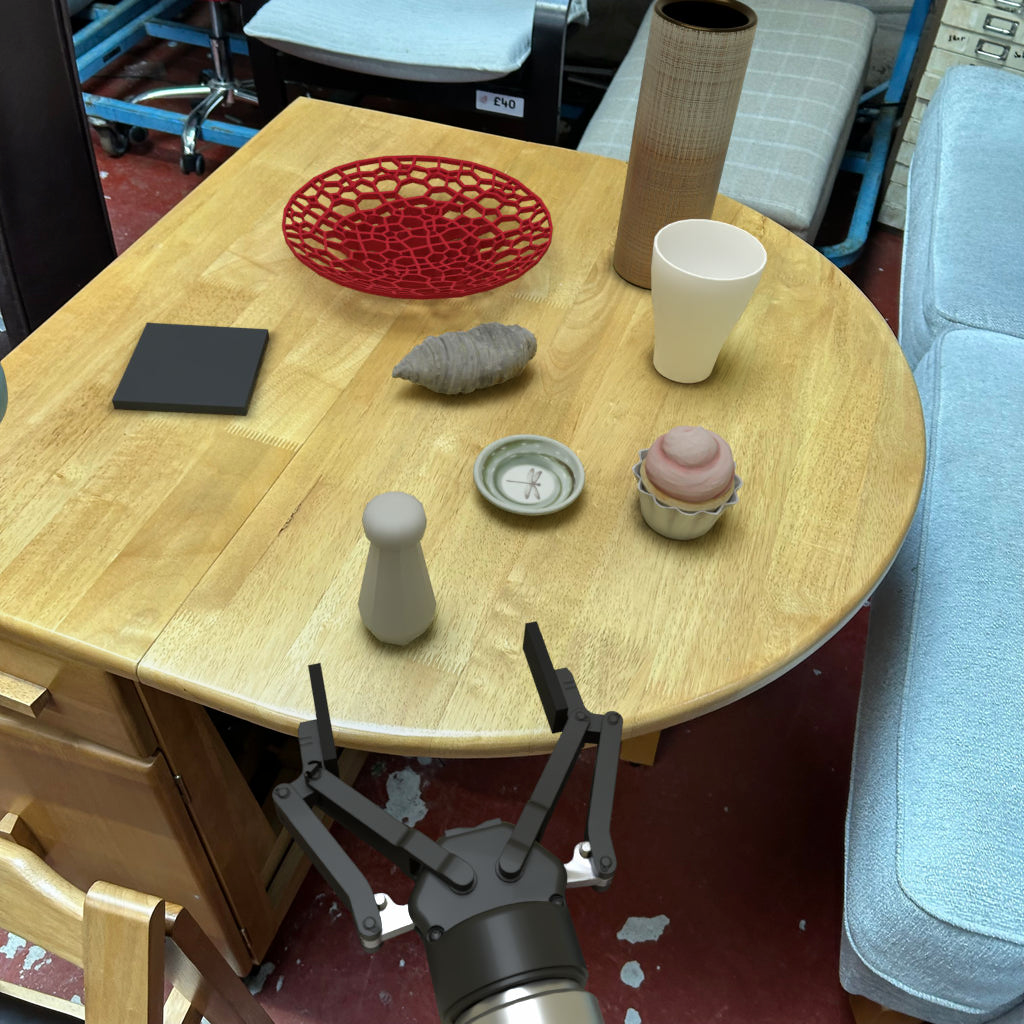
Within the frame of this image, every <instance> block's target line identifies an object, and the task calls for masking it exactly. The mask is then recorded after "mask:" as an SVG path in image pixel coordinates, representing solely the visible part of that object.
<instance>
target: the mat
mask: <svg viewBox="0 0 1024 1024" xmlns="http://www.w3.org/2000/svg"><path fill="white" fill-rule="evenodd" d="M269 340H270V332H269V329H268V328H256V327H255V328H253V327H235V326H234V327H233V326H220V325H219V326H217V325H200V324H199V325H198V324H180V323H179V324H178V323H161V322H146V323H145V326H144V328H143V330H142V332H141V335H140V337H139V339H138V342H137V343H136V346H135V348H134V350H133V353H132V355H131V356H130V359H129V361H128V364H127V365H126V368H125V370H124V372H123V375H122V376H121V379H120V381H119V383H118V386H117V388H116V390H115V392H114V394H113V397H112V399H111V402H112V405H113V408H114V409H116V410H117V409H118V410H136V411H137V410H138V411H158V412H175V413H194V414H195V413H196V414H215V415H217V414H219V415H237V416H247V413H248V411H249V408H250V407H249V406H250V404H251V400H252V397H253V393H254V391H255V390H254V389H255V386H256V383H257V379H258V377H259V373H260V370H261V367H262V363H263V359H264V355H265V352H266V348H267V347H268V344H269V343H268V342H269Z"/></svg>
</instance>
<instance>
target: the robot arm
mask: <svg viewBox="0 0 1024 1024" xmlns="http://www.w3.org/2000/svg"><path fill="white" fill-rule="evenodd" d="M3 367H4V366H2V363H1V362H0V425H1V424H2V422H3V420H4V418H5V417H6V413H7V410H8V405H9V390H8V382H7V377H6V374H5V370H4V368H3ZM523 632H524V633H523V642H522V651H523V654H524V657H525V659H526V662H527V665H528V669H529V671H530V674H531V677H532V680H533V682H534V685H535V688H536V692H537V694H538V697H539V700H540V703H541V706H542V709H543V711H544V715H545V717H546V720H547V723H548V726H549V729H550V732H551V735H555V734H559V733H560V736H559V737H558V740H557V741H556V744H555V746H554V748H553V750H552V752H551V754H550V756H549V758H548V760H547V762H546V764H545V767H544V768H543V771H542V772H541V775H540V777H539V779H538V781H537V783H536V786H535V788H534V790H533V792H532V794H531V795H530V798H529V800H527V802H526V803H525V805H524V807H523V810H522V812H521V814H520V816H519V817H518V820H517V822H516V824H514V823H512V822H509V821H505V820H504V821H503V820H502V818H501V817H496V818H492V819H488V820H485V821H484V822H482V823H480V824H478V825H476V826H474V827H454V828H450V829H447V830H444V834H443V835H441V836H440V837H439V838H438V839H436V840H435V841H434V840H433V839H431V838H430V837H429V836H428V835H426V834H425V833H423V832H421V831H420V830H418V829H417V828H414V827H412V828H411V827H409V826H407V825H406V824H404V823H403V822H402V821H400V820H398V819H397V818H396V817H394V816H393V815H392V814H390V813H389V812H387V811H386V810H385V809H384V808H382V807H380V806H379V805H377V804H376V803H375V802H373V801H372V800H370V799H369V798H367V797H366V796H365V795H363V794H362V793H360V792H359V791H357V790H356V789H355V788H353V787H352V786H351V785H349V784H347V783H346V782H345V781H343V780H342V779H341V776H340V769H339V762H338V757H337V755H338V754H337V751H336V744H335V739H334V738H335V737H334V733H333V727H332V723H331V722H332V721H331V716H330V709H329V704H328V698H327V692H326V686H325V681H324V680H325V679H324V675H323V668H322V663H321V662H318V663H312V664H308V665H307V668H308V674H309V679H310V687H311V693H312V700H313V704H314V712H315V718H316V719H310V720H306V721H301V722H299V725H298V728H297V737H298V743H299V749H300V756H301V764H302V772H301V774H300V775H299V776H298V777H297V778H296V779H295V780H292V781H291V782H289V783H288V782H284V783H280V784H278V785H276V786H275V787H274V788H273V791H272V794H271V796H272V797H271V798H272V800H273V805H274V808H275V812H276V816H277V819H278V820H279V822H280V823H281V825H282V826H283V827H284V828H285V830H286V831H287V832H288V833H289V835H290V836H291V837H292V839H293V840H294V841H295V843H296V844H297V845H298V847H299V848H300V849H301V851H302V852H303V853H304V854H305V856H306V857H307V858H308V860H309V861H310V862H311V864H312V865H313V867H315V869H316V870H317V871H318V873H319V874H320V875H321V876H322V878H323V879H324V880H325V882H326V883H327V884H328V885H329V887H330V888H331V889H332V891H333V892H334V893H335V895H336V896H337V897H338V899H339V900H340V901H341V902H342V904H343V905H344V906H345V908H346V909H347V910H348V912H349V913H350V914H351V916H352V920H353V922H354V926H355V930H356V934H357V937H358V940H359V944H360V946H361V949H362V950H363V951H364V952H365V953H367V954H376V953H377V952H379V951H380V950H381V949H382V947H384V943H385V941H387V940H389V939H392V938H395V937H397V936H400V935H403V934H406V933H408V932H410V931H414V932H415V933H416V934H417V935H418V936H419V938H420V939H421V942H422V943H423V947H424V950H425V951H424V952H425V956H426V960H427V966H428V970H429V973H430V979H431V983H432V989H433V993H434V999H435V1002H436V1007H437V1012H438V1017H439V1021H440V1024H606V1023H605V1019H604V1017H603V1014H602V1010H601V1006H600V1003H599V1000H598V997H597V996H596V995H595V994H594V993H591V992H589V991H587V990H586V989H585V988H586V985H587V981H588V979H589V977H590V974H589V970H588V966H587V963H586V960H585V957H584V953H583V951H582V947H581V944H580V941H579V938H578V934H577V932H576V929H575V926H574V921H573V919H572V916H571V912H570V909H569V906H568V903H567V898H566V897H567V895H566V890H570V889H577V888H585V887H591V889H592V890H593V891H595V892H597V893H604V892H607V891H608V890H609V889H610V887H611V885H612V881H613V879H614V876H615V873H616V870H617V867H618V860H617V857H616V856H617V855H616V852H615V848H614V844H613V839H612V836H611V832H610V830H611V823H612V815H613V806H614V798H615V791H616V783H617V775H618V768H619V759H620V751H621V743H622V735H623V727H624V718H623V716H622V714H620V713H619V712H618V711H615V710H610V711H607V712H605V713H604V714H603V713H601V714H600V713H594V712H591V711H590V710H589V709H587V708H586V706H585V704H584V701H583V698H582V696H581V693H580V691H579V688H578V685H577V683H576V680H575V678H574V674H573V673H572V672H571V670H570V669H569V668H568V667H567V666H566V667H561V668H557V669H555V667H554V664H553V662H552V659H551V656H550V654H549V651H548V648H547V645H546V643H545V640H544V638H543V637H544V636H543V634H542V632H541V628H540V626H539V623H538V620H535V621H531V622H525V623H524V631H523ZM586 744H590V745H591V744H592V745H596V749H595V755H594V762H593V771H592V777H591V783H590V784H591V785H590V791H589V798H588V805H587V811H586V812H587V813H586V819H585V826H584V831H583V838H582V839H583V840H582V841H581V842H579V843H577V844H576V845H575V846H574V849H573V853H572V856H571V857H572V858H571V860H570V861H569V862H567V863H563V861H562V860H561V859H560V858H559V857H557V856H556V855H555V854H554V853H553V852H551V851H549V849H547V848H546V847H545V846H543V845H542V844H541V842H542V840H543V838H544V835H545V832H546V830H547V827H548V825H549V823H550V821H551V818H552V816H553V814H554V812H555V810H556V807H557V805H558V803H559V801H560V798H561V796H562V794H563V792H564V790H565V787H566V786H567V783H568V781H569V779H570V777H571V774H572V772H573V770H574V768H575V766H576V763H577V762H578V759H579V757H580V755H581V753H582V751H583V749H584V748H585V745H586ZM313 806H314V807H316V808H317V809H318V810H320V811H321V812H322V813H324V814H325V815H326V816H328V817H329V818H330V819H333V821H335V822H336V823H337V824H339V825H340V826H342V827H343V828H345V829H346V830H348V831H349V832H350V833H352V834H353V835H354V836H356V837H357V838H358V839H360V840H361V841H363V842H364V843H365V844H367V845H368V846H369V847H371V848H372V849H373V850H375V851H376V852H378V853H379V854H381V856H383V857H385V858H386V859H387V860H389V861H391V862H392V863H393V864H394V865H395V866H396V867H398V869H399V871H400V872H401V873H402V874H403V875H405V876H406V877H407V878H409V879H410V880H411V881H413V882H414V886H413V888H412V890H411V892H410V895H409V897H408V900H407V904H404V905H398V904H397V903H395V902H394V901H393V899H392V898H391V897H390V895H388V894H387V893H384V892H379V893H375V894H374V891H373V889H372V887H371V884H370V883H369V881H368V879H367V878H366V877H365V875H364V874H363V873H362V871H361V870H360V869H359V867H358V866H357V865H356V863H355V862H354V861H353V860H352V859H351V857H350V856H349V855H348V854H347V852H346V851H345V850H344V848H343V847H342V846H341V845H340V844H339V842H338V841H337V840H336V839H335V837H334V836H333V835H332V834H331V832H330V831H329V830H328V828H327V827H326V826H325V824H323V822H322V821H321V820H320V819H319V817H318V816H317V815H316V814H315V812H314V811H313V809H311V808H312V807H313Z"/></svg>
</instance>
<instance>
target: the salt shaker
mask: <svg viewBox="0 0 1024 1024" xmlns="http://www.w3.org/2000/svg"><path fill="white" fill-rule="evenodd" d="M423 504H424V503H422V502H421V501H420V500H419V499H418V498H417V497H416V496H414V495H412V494H410V493H407V492H405V491H386V492H383V493H380V494H377V495H375V496H374V497H373V498H372V499H370V500H369V501H368V502H367V503H366V505H365V507H364V510H363V513H362V516H361V523H362V527H363V532H364V536H365V537H366V539H367V540H368V541H369V542H370V544H369V546H368V551H367V552H368V553H367V556H366V561H365V567H364V572H363V577H362V580H361V586H360V591H359V596H358V601H357V607H358V611H359V615H360V619H361V622H362V623H363V624H364V626H365V627H366V628H367V629H368V630H369V631H370V632H371V633H372V634H373V635H374V636H375V638H376V639H377V640H378V641H379V642H380V643H386V644H391V645H397V646H401V647H405V646H406V645H408V644H410V643H411V642H413V641H414V640H416V639H417V638H419V637H420V636H422V635H424V634H425V632H426V630H428V628H429V627H430V625H431V624H432V622H433V620H434V617H435V613H436V611H437V610H436V609H437V605H438V604H437V600H436V596H435V592H434V589H433V585H432V582H431V578H430V574H429V570H428V566H427V562H426V558H425V555H424V550H423V547H422V544H421V541H422V540H423V538H424V535H425V532H426V529H427V522H428V519H427V516H426V511H425V508H424V505H423Z"/></svg>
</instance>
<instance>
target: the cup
mask: <svg viewBox="0 0 1024 1024" xmlns="http://www.w3.org/2000/svg"><path fill="white" fill-rule="evenodd" d="M767 263H768V253H767V250H766V249H765V247H764V244H762V242H760V241H759V240H758V238H757V237H756V236H754V235H753V234H751V233H749V232H748V231H746V230H744V229H742V228H740V227H738V226H735V225H733V224H729V223H726V222H723V221H720V220H719V221H718V220H713V219H711V220H706V219H690V220H682V221H677V222H674V223H671V224H668V225H667V226H665V227H664V228H662V229H661V230H660V231H659V232H658V233H657V235H656V236H655V238H654V246H653V255H652V265H651V289H650V290H651V305H652V312H653V313H652V314H653V325H654V326H653V327H654V328H653V329H654V346H653V347H654V348H653V360H652V363H653V367H654V369H656V371H657V372H658V373H659V374H660V375H661V376H663V377H664V378H666V379H668V380H670V381H673V382H676V383H682V384H695V383H700V382H703V381H704V380H706V379H708V377H710V376H711V374H712V372H713V369H714V367H715V364H716V361H717V359H718V358H719V354H720V352H721V350H722V348H723V347H724V345H725V343H726V342H727V340H728V338H729V336H730V335H731V333H732V331H734V328H735V327H736V325H737V323H738V322H740V319H741V318H742V317H743V314H744V312H745V311H746V309H747V307H748V305H749V303H750V301H751V299H752V297H753V296H754V293H755V292H756V290H757V288H758V286H759V284H760V281H761V278H762V276H763V275H764V274H763V273H764V271H765V269H766V266H767Z"/></svg>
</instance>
